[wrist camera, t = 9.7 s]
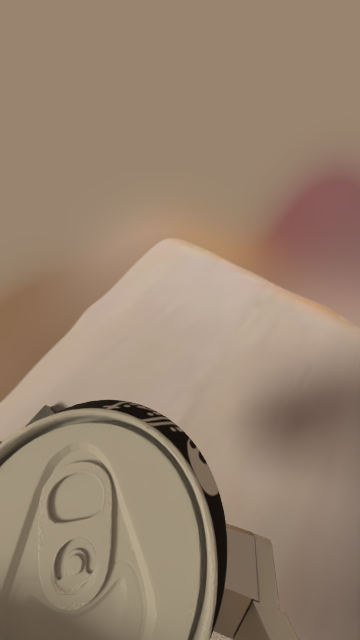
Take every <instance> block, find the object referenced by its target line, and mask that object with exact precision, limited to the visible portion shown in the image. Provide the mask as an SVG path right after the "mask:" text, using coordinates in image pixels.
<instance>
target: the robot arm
mask: <svg viewBox="0 0 360 640" xmlns="http://www.w3.org/2000/svg"><path fill="white" fill-rule="evenodd" d="M1 443H2V442H1V441H0V444H1ZM226 531H227V571H226V580H225V587H224V593H223V598H222V602H221V607H220V610H219V614H218V618H217V621H216V624H215V627H214V630H213V631H215V632H218V633H220V634H222V635H224V636H226V637H229V638H231V639H233V640H299V638H298V636H297V634H296V632H295V631H294V629H293V627H292V625H291V623H290V621H289V619H288V617H287V615H286V613H284V612H282V611H280V607H279V599H278V591H277V582H276V574H275V566H274V558H273V550H272V543H271V541H270V539H268V538H265V537H262V536H259V535H256V534H253V533H252V532H250V531H247V530H244V529H241V528H238V527H235V526H232V525H229V524H226Z"/></svg>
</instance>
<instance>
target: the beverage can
mask: <svg viewBox="0 0 360 640" xmlns="http://www.w3.org/2000/svg"><path fill="white" fill-rule="evenodd" d="M226 571H227V531H226V522H225V516H224V510H223V506H222V502H221V498H220V494H219V491H218V488H217V485H216V482H215V480H214V477H213V475H212V473H211V471H210V468H209V466H208V465H207V463H206V461H205V459H204V457H203V456H202V454H201V452H200V451H199V450H198V448H197V447H196V445H195V444H194V443H193V441H192V440H191V439H190V438H189V437H188V436H187V435H186V434H185V432H184V431H183V430H181V429H180V428H179V427H178V426H177V425H176V424H175V423H173V422H172V421H171V420H169V419H168V418H166V417H165V416H163V415H162V414H160V413H158V412H156V411H154V410H152V409H150V408H148V407H145V406H142V405H139V404H136V403H131V402H126V401H118V400H99V401H90V402H86V403H82V404H77V405H74V406H72V407H69V408H66V409H64V410H61V411H59V412H57V413H55V414H53V415H50V416H48V417H45V418H42V419H40V420H38V421H36V422H34V423H32V424H30V425H28V426H26V427H24V428H22V429H21V430H19V431H18V432H16V433H15V434H13V435H12V436H10V437H8V438H7V439H6V440H5V441H4V442H2V443H1V444H0V640H210V637H211V635H212V632H213V630H214V627H215V624H216V621H217V618H218V614H219V610H220V607H221V602H222V598H223V593H224V587H225V580H226Z"/></svg>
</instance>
